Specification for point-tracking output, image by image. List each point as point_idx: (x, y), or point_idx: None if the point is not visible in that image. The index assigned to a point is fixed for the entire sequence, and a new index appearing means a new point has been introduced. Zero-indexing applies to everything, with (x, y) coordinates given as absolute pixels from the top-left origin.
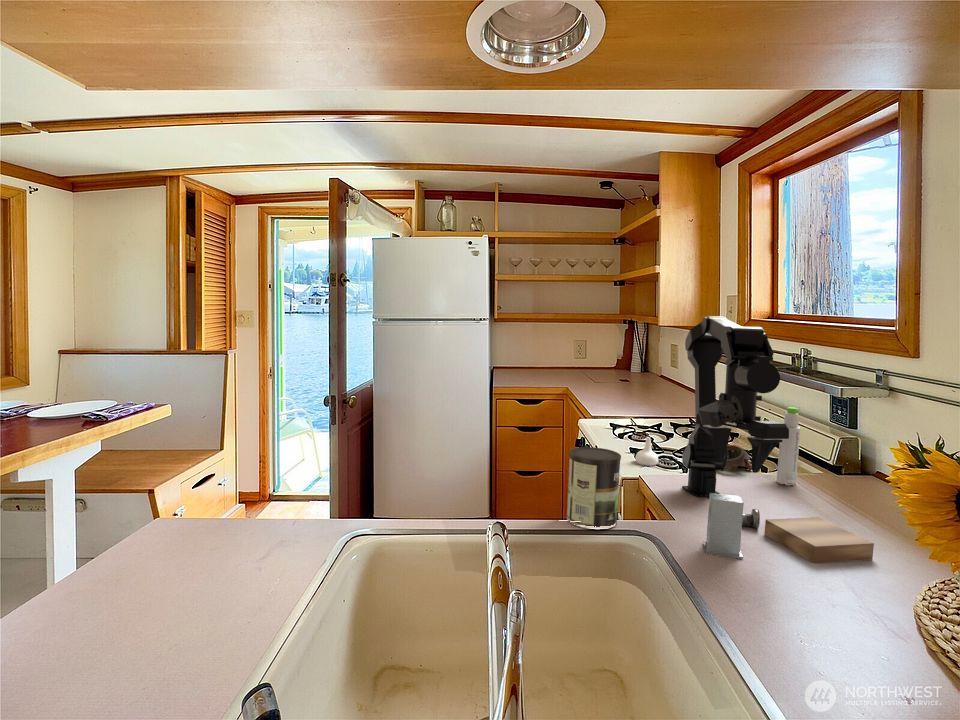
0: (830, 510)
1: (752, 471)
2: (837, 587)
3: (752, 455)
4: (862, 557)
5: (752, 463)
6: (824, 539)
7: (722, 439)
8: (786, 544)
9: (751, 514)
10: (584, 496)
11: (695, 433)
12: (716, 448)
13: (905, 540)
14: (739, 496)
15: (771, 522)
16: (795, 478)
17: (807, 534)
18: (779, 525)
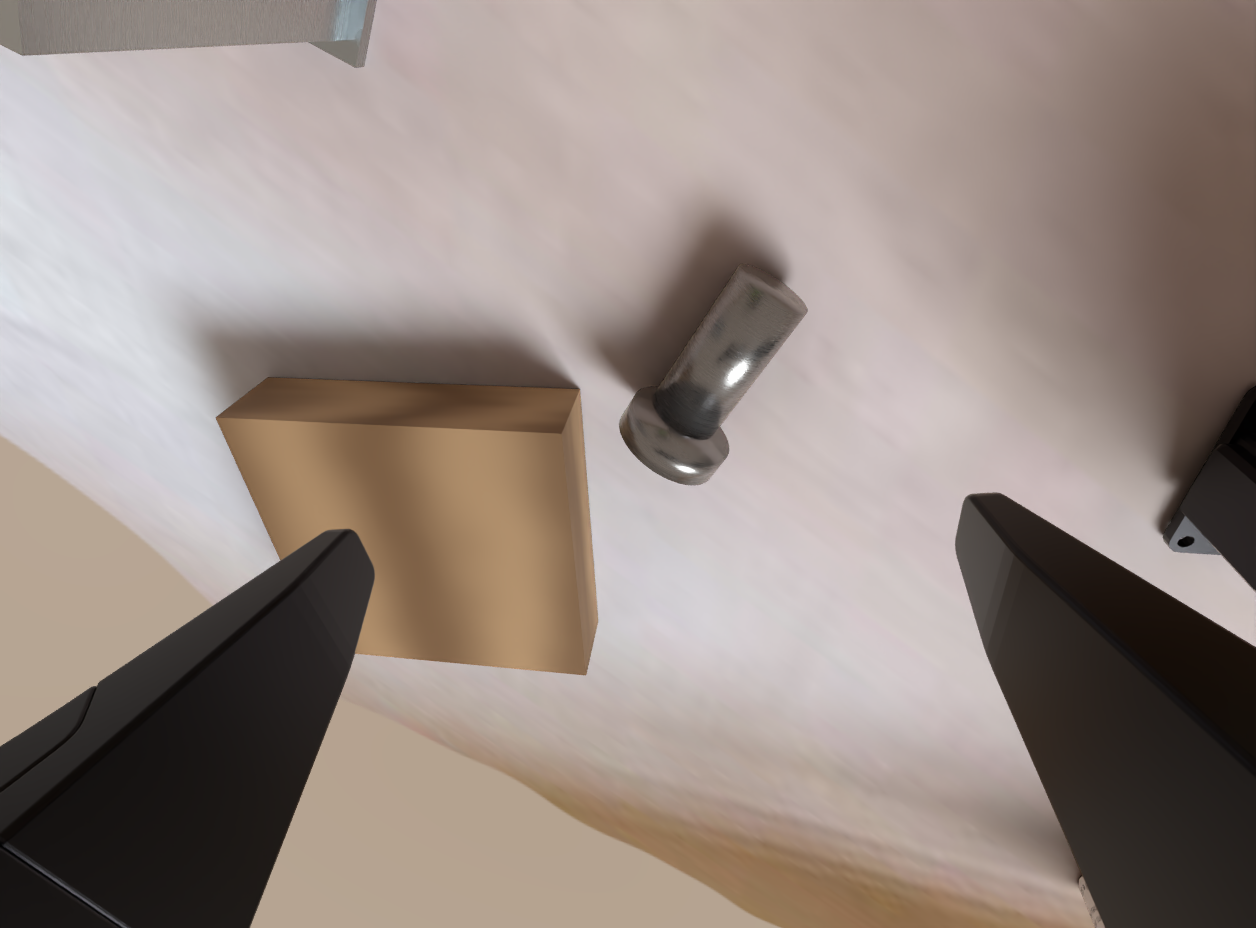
0: (792, 797)
1: (342, 530)
2: (47, 297)
3: (146, 688)
4: None
5: (266, 597)
6: (318, 516)
7: (1189, 918)
8: (421, 388)
9: (722, 448)
10: None
11: None
12: (1107, 624)
13: (521, 780)
14: (11, 45)
15: (515, 432)
16: (1092, 920)
17: (366, 489)
18: (471, 443)
